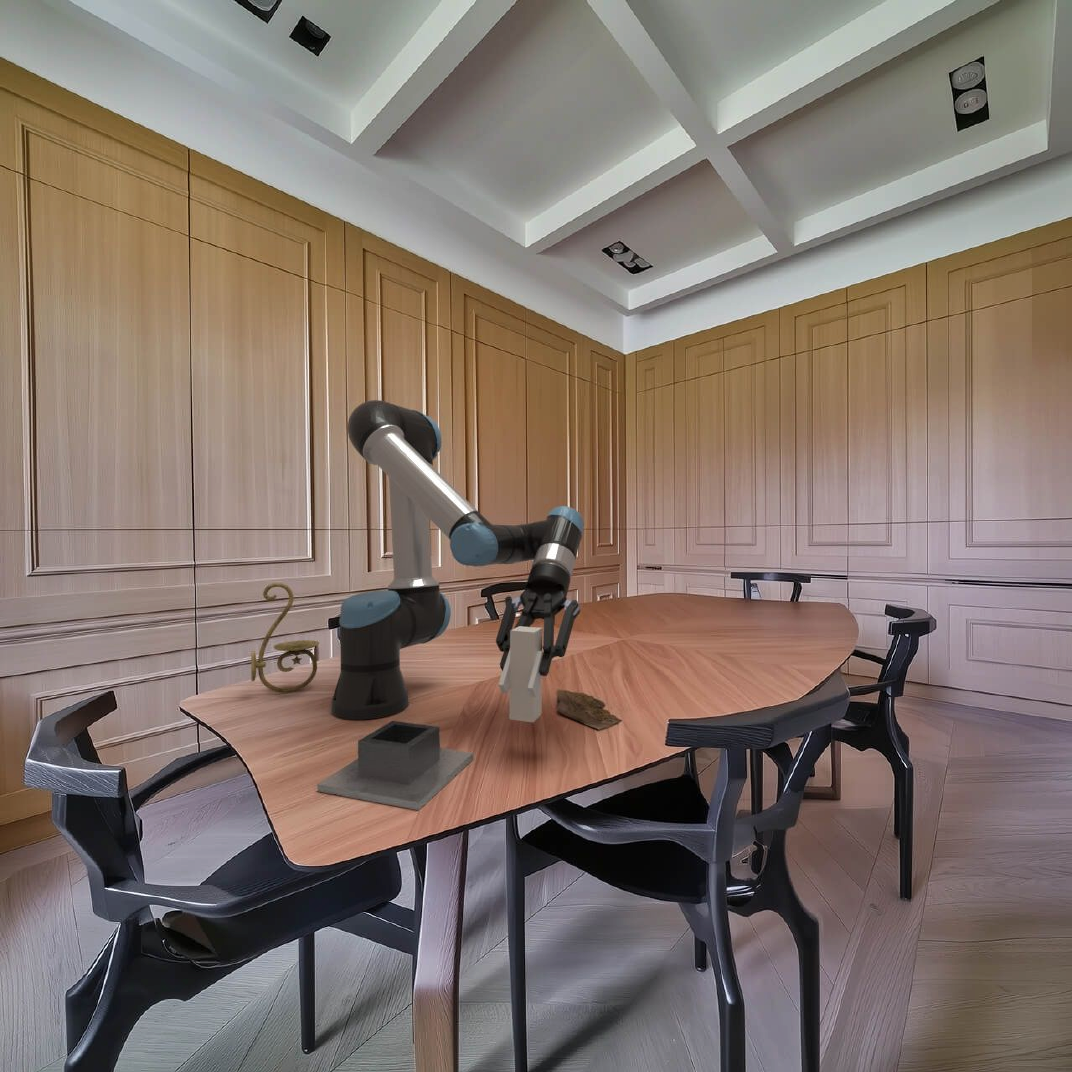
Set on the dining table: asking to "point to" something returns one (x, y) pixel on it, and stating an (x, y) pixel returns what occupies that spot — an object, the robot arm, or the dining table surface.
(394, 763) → the square post socket
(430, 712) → the dining table surface
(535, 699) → the rail post
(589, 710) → the wooden fragment
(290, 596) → the wall sconce
